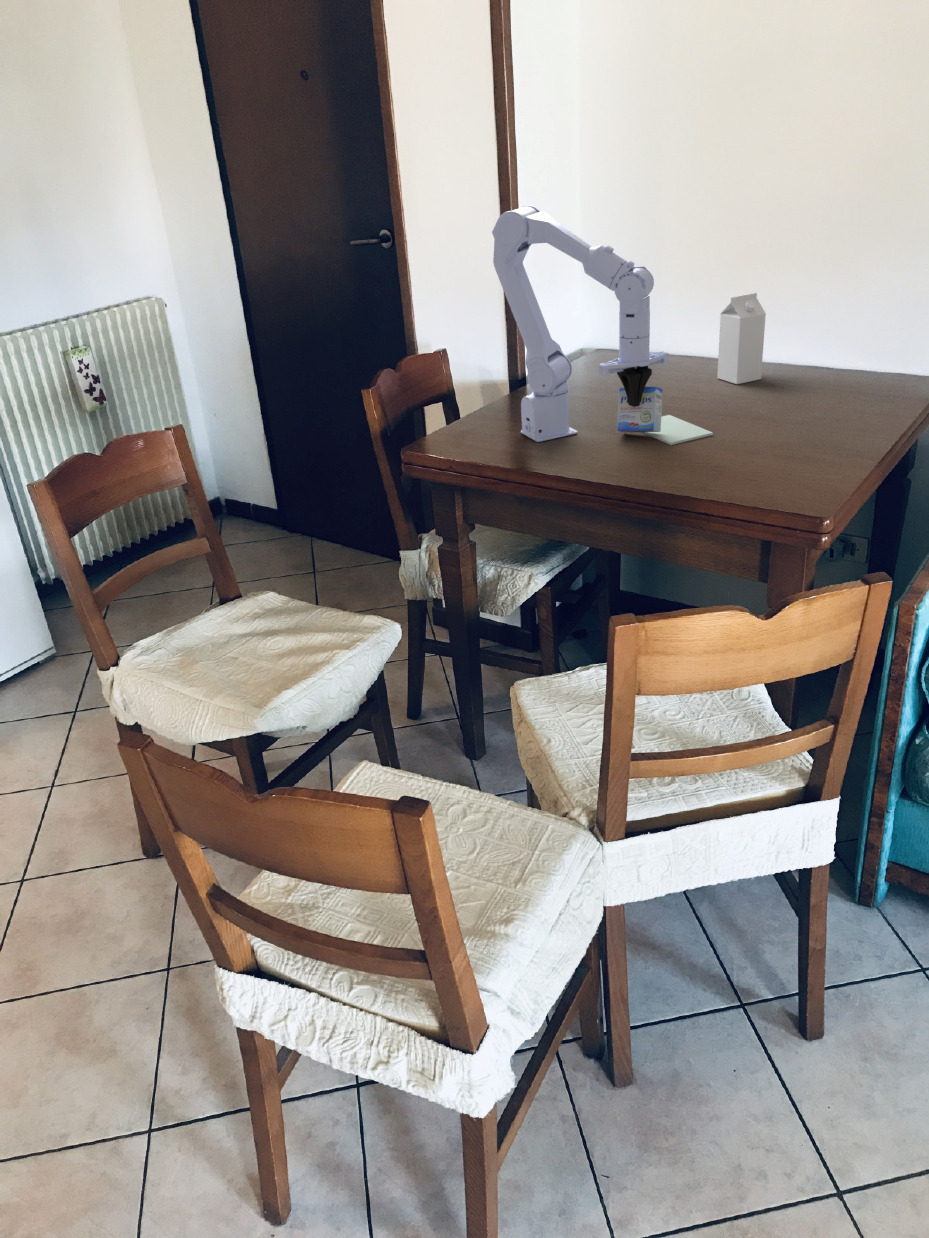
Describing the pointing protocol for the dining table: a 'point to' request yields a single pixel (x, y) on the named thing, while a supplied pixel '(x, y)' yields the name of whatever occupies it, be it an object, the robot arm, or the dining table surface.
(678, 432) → the mat
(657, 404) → the medicine box
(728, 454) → the dining table surface
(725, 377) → the milk carton
